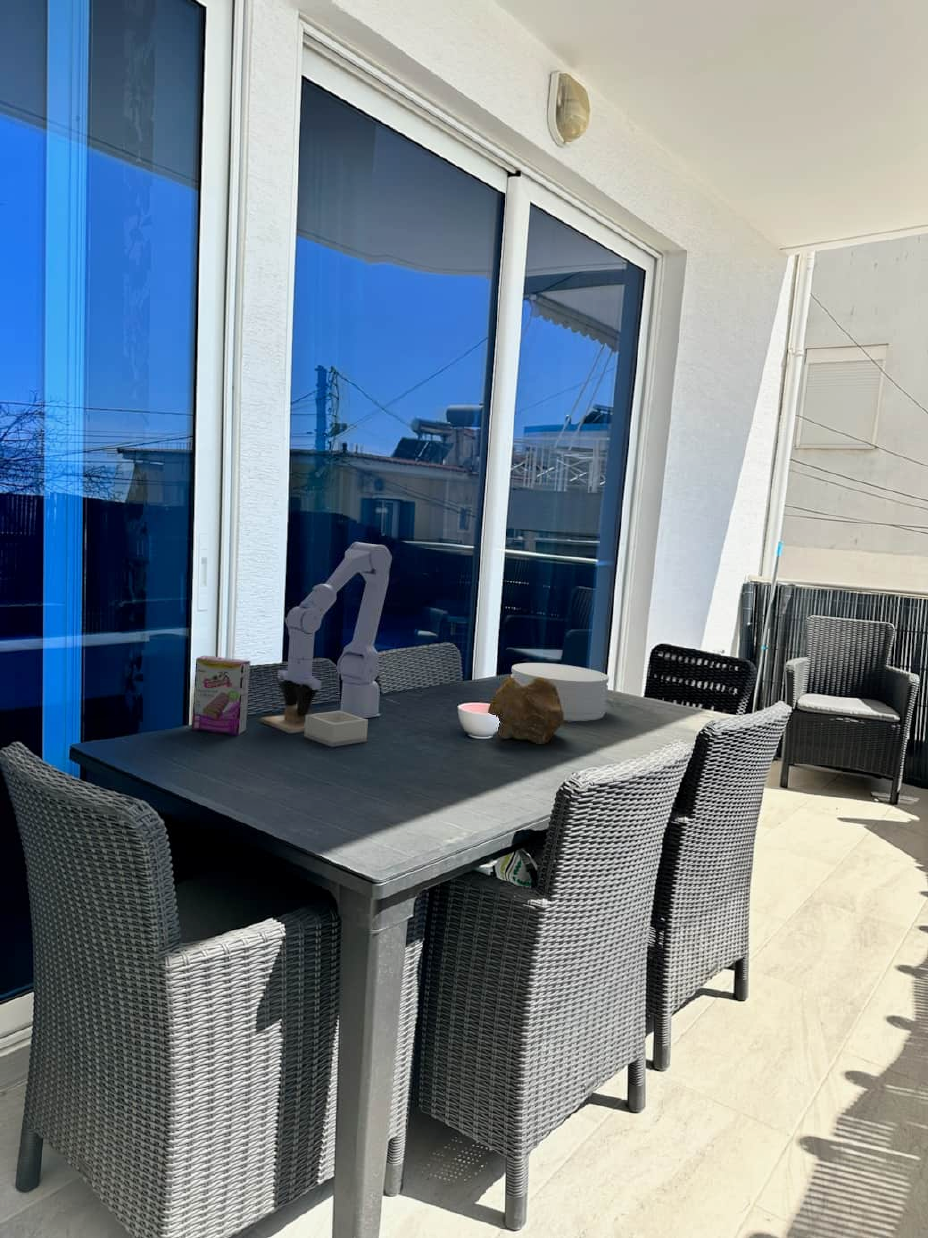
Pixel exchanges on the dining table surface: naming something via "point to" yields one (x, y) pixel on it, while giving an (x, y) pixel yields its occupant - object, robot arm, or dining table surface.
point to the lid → (287, 720)
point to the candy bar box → (220, 695)
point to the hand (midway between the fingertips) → (296, 713)
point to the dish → (336, 728)
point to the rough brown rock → (527, 710)
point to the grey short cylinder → (569, 687)
